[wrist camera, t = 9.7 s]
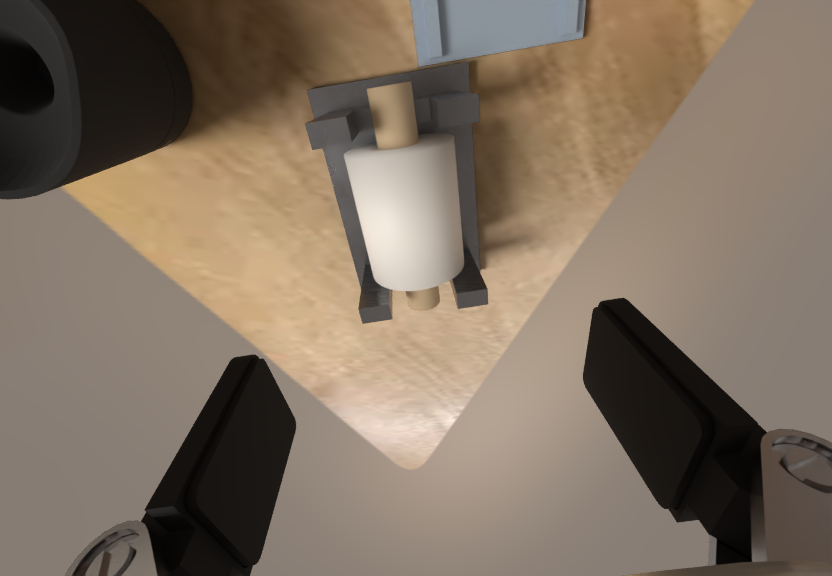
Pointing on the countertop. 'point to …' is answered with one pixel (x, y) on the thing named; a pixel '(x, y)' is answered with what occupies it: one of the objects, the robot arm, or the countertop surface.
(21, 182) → the pen holder
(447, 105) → the holder
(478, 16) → the rest
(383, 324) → the countertop surface
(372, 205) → the paper roll
